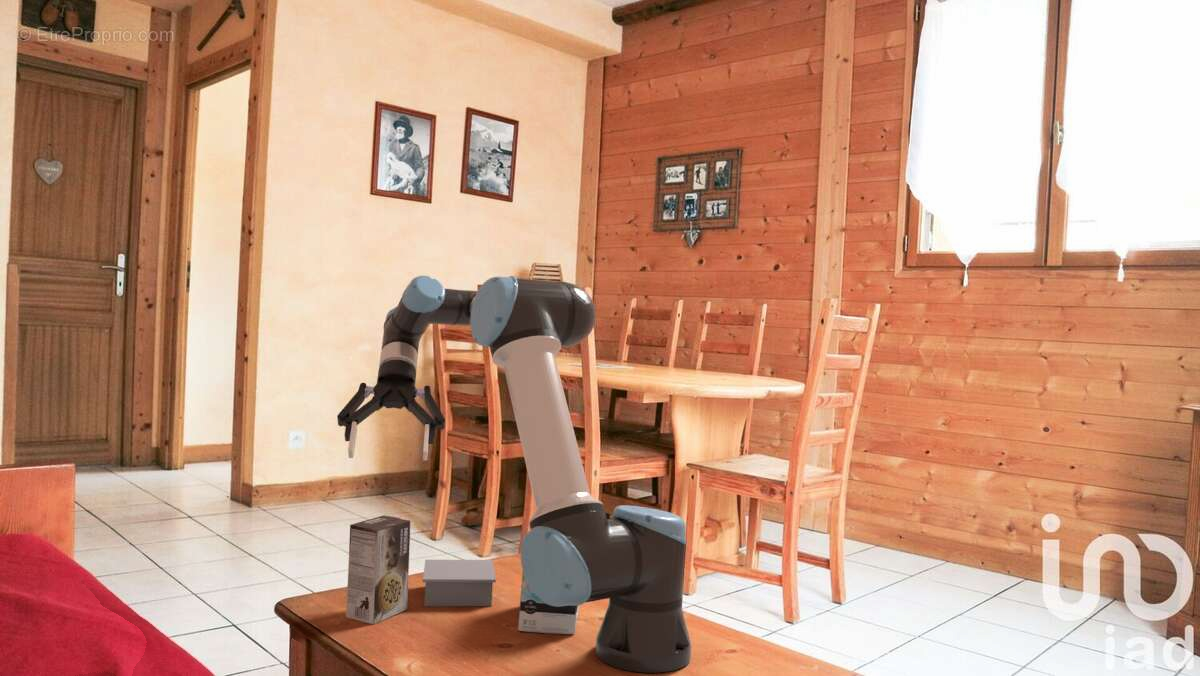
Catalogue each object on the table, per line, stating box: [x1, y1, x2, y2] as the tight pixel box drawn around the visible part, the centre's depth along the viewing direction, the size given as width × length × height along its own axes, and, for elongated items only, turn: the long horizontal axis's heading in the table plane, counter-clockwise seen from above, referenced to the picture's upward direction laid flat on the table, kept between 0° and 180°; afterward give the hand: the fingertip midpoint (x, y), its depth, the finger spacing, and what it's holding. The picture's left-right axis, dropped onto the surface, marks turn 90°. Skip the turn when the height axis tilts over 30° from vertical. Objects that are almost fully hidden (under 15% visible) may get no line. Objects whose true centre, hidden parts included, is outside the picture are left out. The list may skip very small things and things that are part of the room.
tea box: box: [517, 571, 580, 635], centre depth 152 cm, size 15×10×15 cm, turn 179°
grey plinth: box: [422, 559, 497, 607], centre depth 162 cm, size 13×13×5 cm
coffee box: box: [345, 515, 411, 625], centre depth 150 cm, size 9×6×16 cm
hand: (388, 455), depth 161 cm, fingers open, 13 cm apart
